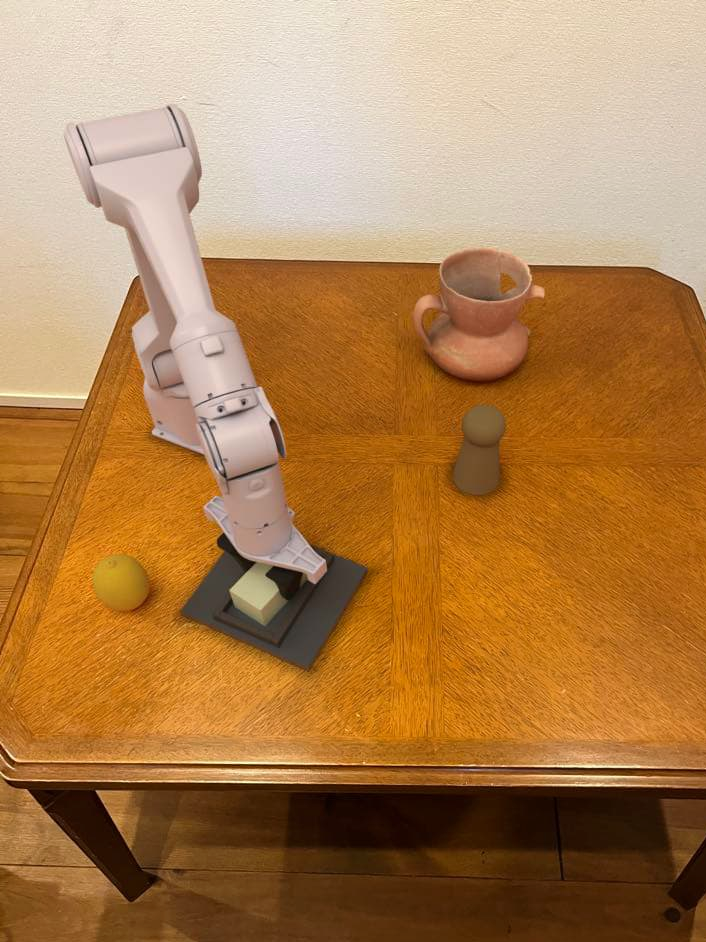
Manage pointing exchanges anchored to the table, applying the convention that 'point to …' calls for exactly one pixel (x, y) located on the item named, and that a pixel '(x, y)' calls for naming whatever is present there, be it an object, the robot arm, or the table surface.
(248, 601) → the cream rectangular block
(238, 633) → the base pad
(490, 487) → the brown pawn
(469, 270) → the ceramic jug
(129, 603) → the lemon
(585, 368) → the table surface
